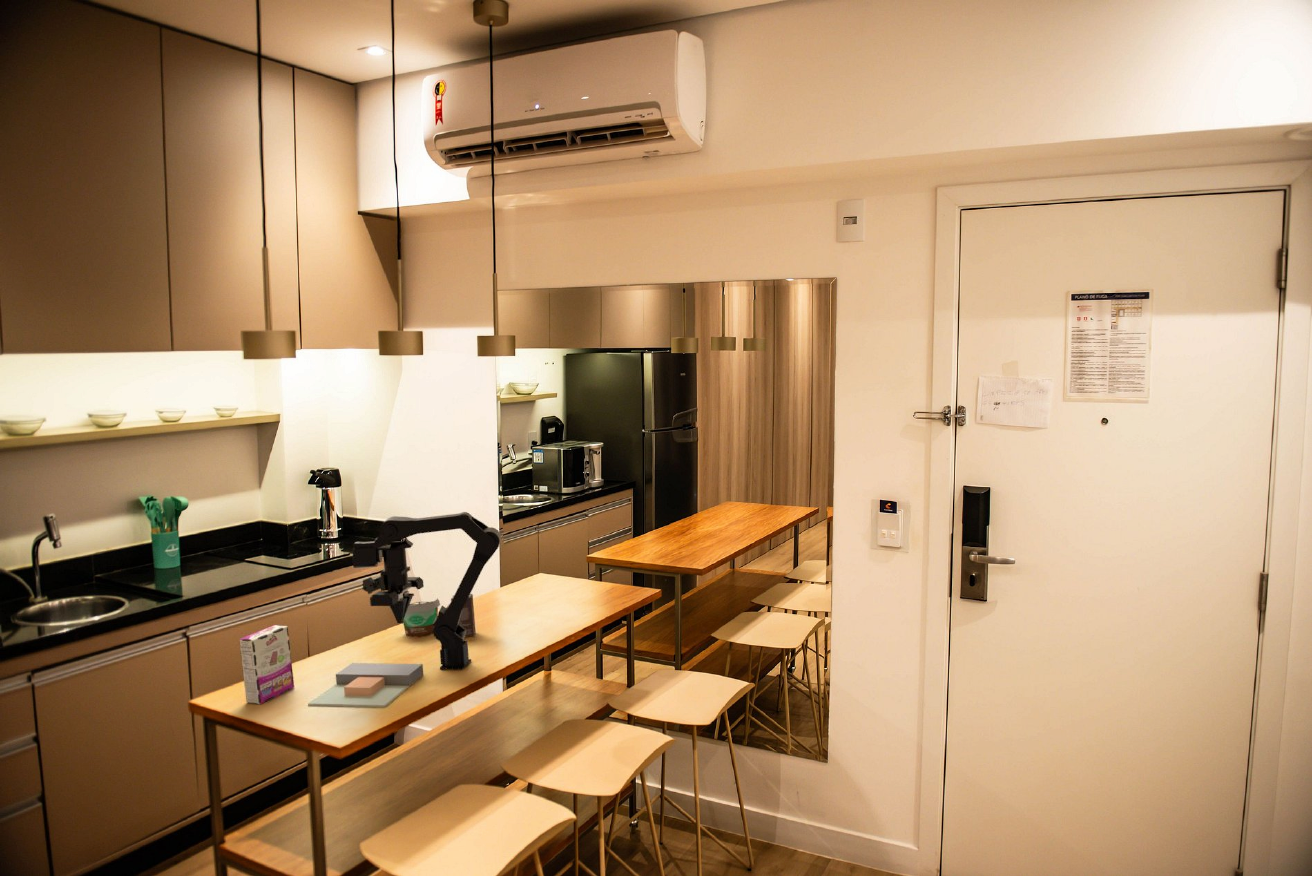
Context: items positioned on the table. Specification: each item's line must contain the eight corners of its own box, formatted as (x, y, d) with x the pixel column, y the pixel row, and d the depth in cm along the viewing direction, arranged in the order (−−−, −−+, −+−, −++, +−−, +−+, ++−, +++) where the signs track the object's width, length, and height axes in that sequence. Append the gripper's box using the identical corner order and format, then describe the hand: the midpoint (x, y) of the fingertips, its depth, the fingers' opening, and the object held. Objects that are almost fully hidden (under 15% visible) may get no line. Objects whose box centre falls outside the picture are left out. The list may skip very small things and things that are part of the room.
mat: (408, 687, 209) (408, 685, 209) (384, 707, 197) (384, 705, 197) (335, 686, 212) (335, 684, 212) (308, 705, 201) (308, 703, 201)
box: (475, 632, 251) (473, 593, 250) (474, 636, 247) (471, 597, 246) (455, 633, 251) (452, 594, 250) (453, 638, 246) (450, 598, 245)
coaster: (385, 684, 210) (384, 677, 210) (370, 695, 203) (370, 687, 203) (359, 684, 212) (359, 676, 211) (344, 695, 205) (343, 687, 205)
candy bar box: (280, 686, 215) (274, 624, 213) (295, 688, 213) (289, 625, 211) (244, 703, 204) (238, 638, 203) (259, 705, 202) (253, 639, 201)
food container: (399, 640, 247) (397, 608, 246) (400, 634, 253) (397, 602, 252) (442, 635, 250) (440, 602, 249) (442, 629, 256) (439, 597, 255)
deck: (423, 675, 217) (422, 663, 217) (409, 686, 209) (408, 675, 209) (353, 674, 221) (352, 663, 220) (336, 685, 213) (335, 674, 213)
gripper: (384, 557, 230) (389, 612, 231) (348, 574, 211) (353, 634, 213) (422, 556, 228) (426, 612, 229) (388, 574, 209) (393, 634, 211)
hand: (400, 622), depth 220 cm, fingers closed
